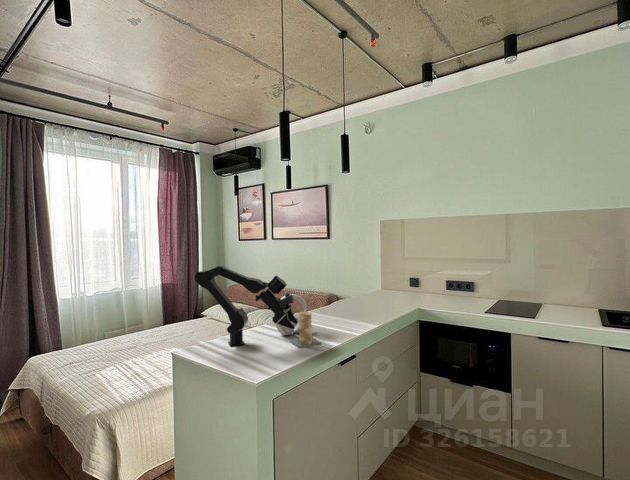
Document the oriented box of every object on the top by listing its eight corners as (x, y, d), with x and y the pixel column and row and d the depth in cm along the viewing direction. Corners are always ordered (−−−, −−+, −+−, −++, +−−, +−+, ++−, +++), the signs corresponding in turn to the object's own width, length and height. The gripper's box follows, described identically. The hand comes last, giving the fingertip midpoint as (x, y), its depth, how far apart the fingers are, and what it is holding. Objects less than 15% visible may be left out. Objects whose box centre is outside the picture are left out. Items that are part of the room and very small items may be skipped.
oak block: (299, 344, 144) (298, 314, 144) (301, 340, 149) (300, 312, 149) (310, 344, 143) (310, 314, 143) (311, 340, 148) (311, 312, 148)
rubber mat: (289, 341, 151) (289, 339, 151) (310, 337, 155) (310, 336, 155) (298, 348, 141) (298, 346, 141) (321, 344, 146) (321, 342, 146)
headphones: (280, 340, 153) (279, 297, 153) (270, 335, 161) (269, 295, 162) (312, 332, 164) (311, 293, 164) (301, 328, 172) (300, 290, 173)
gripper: (279, 292, 138) (305, 318, 137) (287, 285, 156) (310, 309, 155) (261, 310, 138) (287, 336, 137) (271, 302, 157) (294, 325, 156)
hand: (295, 325), depth 146 cm, fingers open, 9 cm apart
